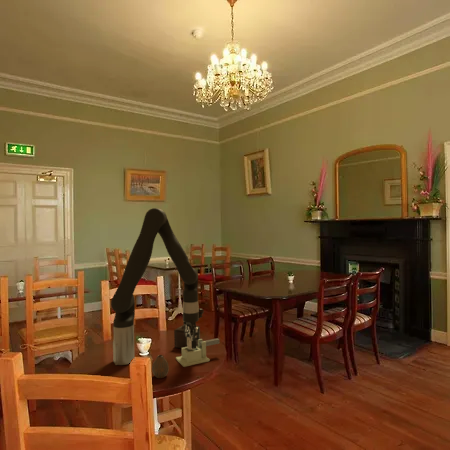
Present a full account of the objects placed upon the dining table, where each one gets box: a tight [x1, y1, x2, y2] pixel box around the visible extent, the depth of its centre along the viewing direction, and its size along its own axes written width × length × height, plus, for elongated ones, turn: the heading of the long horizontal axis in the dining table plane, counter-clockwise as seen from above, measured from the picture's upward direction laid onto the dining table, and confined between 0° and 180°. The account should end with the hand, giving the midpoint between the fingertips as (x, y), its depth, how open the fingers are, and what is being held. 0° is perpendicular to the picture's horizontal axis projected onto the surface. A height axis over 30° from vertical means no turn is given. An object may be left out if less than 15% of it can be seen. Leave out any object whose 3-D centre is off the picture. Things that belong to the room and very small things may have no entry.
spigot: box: [187, 336, 196, 352], centre depth 169 cm, size 4×4×10 cm
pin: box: [199, 338, 220, 347], centre depth 174 cm, size 10×2×2 cm, turn 118°
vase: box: [151, 354, 170, 379], centre depth 153 cm, size 7×7×9 cm
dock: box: [175, 338, 211, 368], centre depth 170 cm, size 13×10×8 cm
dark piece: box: [173, 308, 205, 350], centre depth 192 cm, size 16×11×18 cm
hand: (191, 346), depth 169 cm, fingers open, 6 cm apart
